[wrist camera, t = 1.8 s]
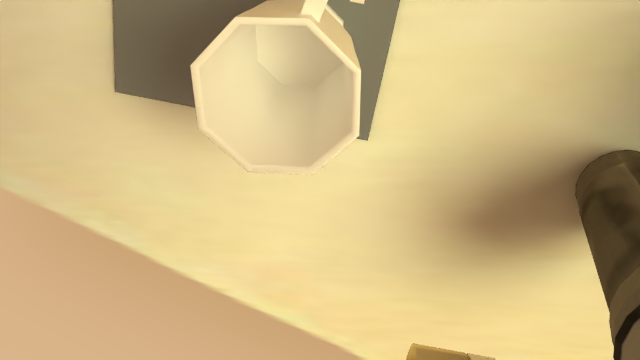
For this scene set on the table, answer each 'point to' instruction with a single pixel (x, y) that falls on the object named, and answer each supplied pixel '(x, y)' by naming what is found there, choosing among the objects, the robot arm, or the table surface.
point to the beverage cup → (615, 241)
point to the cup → (280, 87)
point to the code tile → (207, 23)
